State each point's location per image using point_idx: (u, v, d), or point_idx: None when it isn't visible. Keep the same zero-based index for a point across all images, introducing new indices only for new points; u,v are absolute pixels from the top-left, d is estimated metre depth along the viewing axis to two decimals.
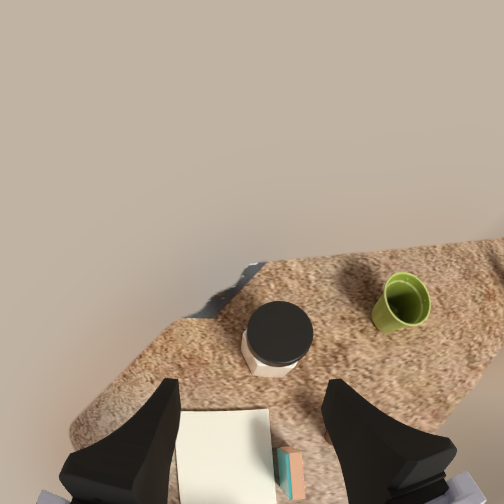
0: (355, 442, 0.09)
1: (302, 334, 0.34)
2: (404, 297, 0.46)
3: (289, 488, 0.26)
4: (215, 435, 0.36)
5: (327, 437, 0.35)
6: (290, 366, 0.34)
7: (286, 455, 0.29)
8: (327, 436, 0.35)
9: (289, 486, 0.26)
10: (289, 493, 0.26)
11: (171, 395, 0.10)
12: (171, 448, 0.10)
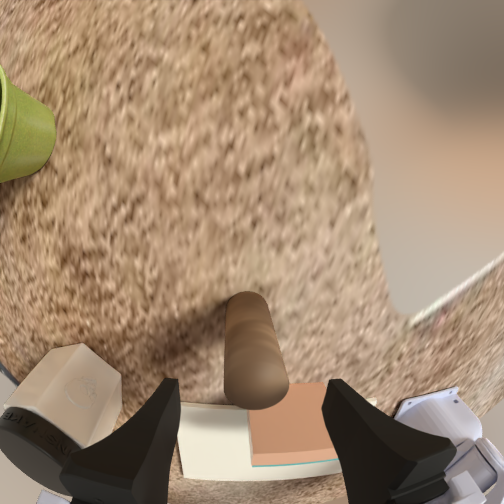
0: (355, 442, 0.09)
1: (27, 449, 0.10)
2: None
3: (320, 461, 0.17)
4: (214, 455, 0.25)
5: None
6: None
7: (254, 465, 0.16)
8: None
9: (316, 462, 0.17)
10: None
11: (171, 395, 0.10)
12: (171, 448, 0.10)
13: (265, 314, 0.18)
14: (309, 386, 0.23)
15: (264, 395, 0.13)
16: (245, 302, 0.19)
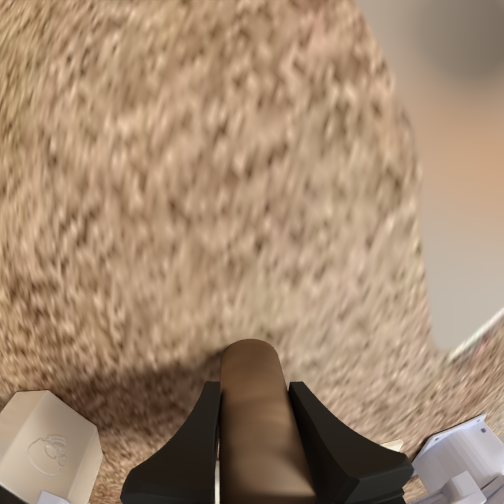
0: (309, 449, 0.09)
1: None
2: None
3: None
4: None
5: None
6: None
7: None
8: None
9: None
10: None
11: (218, 398, 0.10)
12: (216, 452, 0.10)
13: (277, 380, 0.12)
14: None
15: None
16: (247, 361, 0.13)
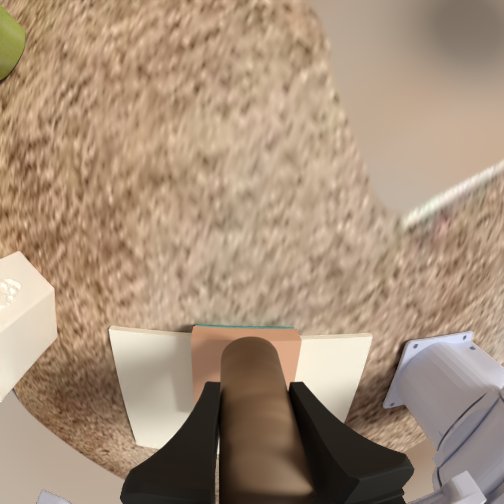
0: (309, 449, 0.09)
1: None
2: None
3: None
4: (166, 411, 0.21)
5: None
6: None
7: None
8: None
9: None
10: None
11: (218, 398, 0.10)
12: (216, 452, 0.10)
13: (276, 377, 0.12)
14: (278, 347, 0.18)
15: None
16: (247, 358, 0.13)
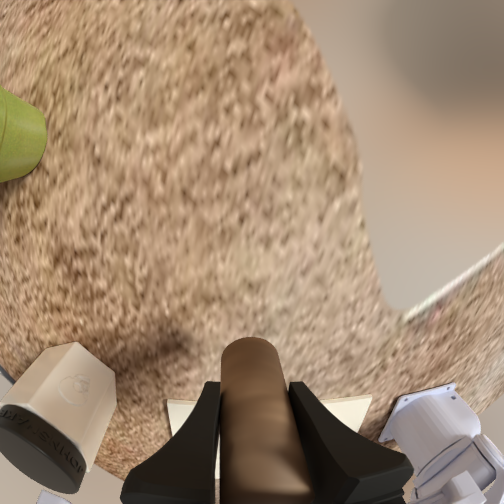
0: (309, 449, 0.09)
1: (21, 445, 0.10)
2: None
3: None
4: None
5: None
6: (79, 447, 0.14)
7: None
8: None
9: None
10: None
11: (218, 398, 0.10)
12: (216, 452, 0.10)
13: (276, 379, 0.12)
14: None
15: None
16: (247, 359, 0.13)
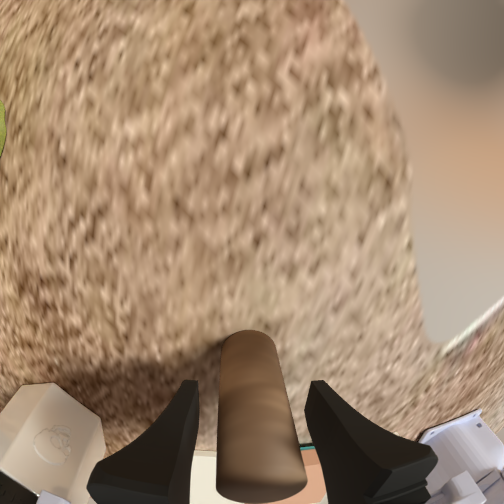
0: (334, 446, 0.09)
1: None
2: None
3: None
4: (214, 496, 0.20)
5: None
6: None
7: None
8: None
9: None
10: None
11: (193, 397, 0.10)
12: (192, 450, 0.10)
13: (273, 368, 0.13)
14: None
15: (273, 492, 0.08)
16: (245, 350, 0.14)
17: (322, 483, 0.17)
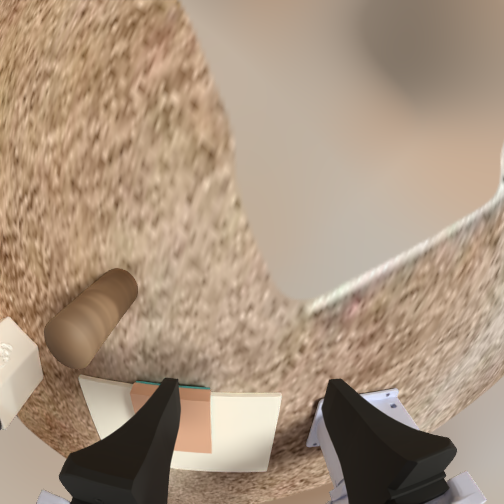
0: (355, 442, 0.09)
1: None
2: None
3: None
4: None
5: None
6: None
7: None
8: None
9: None
10: None
11: (171, 395, 0.10)
12: (171, 448, 0.10)
13: (113, 287, 0.18)
14: (193, 404, 0.22)
15: (74, 353, 0.13)
16: (104, 276, 0.19)
17: (201, 427, 0.22)
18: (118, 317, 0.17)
